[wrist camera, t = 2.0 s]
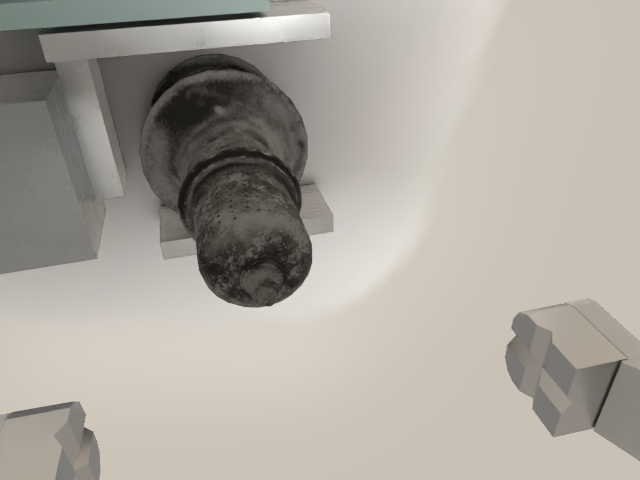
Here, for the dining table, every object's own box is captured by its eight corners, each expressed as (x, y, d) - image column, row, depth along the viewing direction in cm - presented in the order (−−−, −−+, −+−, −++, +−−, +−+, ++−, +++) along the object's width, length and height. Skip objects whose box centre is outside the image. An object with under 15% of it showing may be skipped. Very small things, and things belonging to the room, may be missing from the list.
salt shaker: (261, 199, 23) (334, 406, 14) (127, 165, 21) (100, 388, 11) (308, 75, 21) (439, 220, 11) (163, 21, 18) (168, 146, 9)
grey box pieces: (-36, 252, 21) (-77, 323, 17) (-146, 31, 16) (-234, 66, 13) (315, 198, 24) (343, 250, 20) (308, -1, 19) (343, 20, 16)
